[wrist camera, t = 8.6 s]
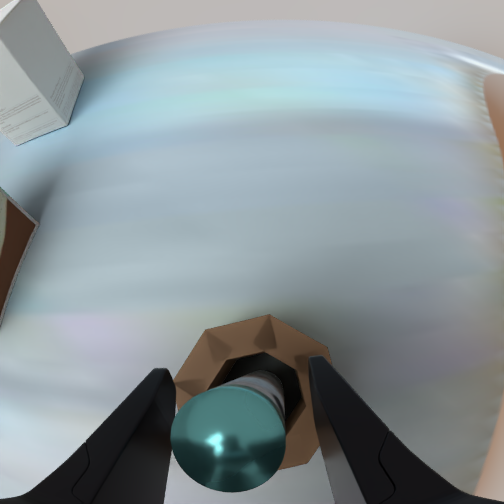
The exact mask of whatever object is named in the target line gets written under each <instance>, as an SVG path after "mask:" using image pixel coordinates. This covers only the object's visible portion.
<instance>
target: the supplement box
mask: <svg viewBox="0 0 504 504" xmlns="http://www.w3.org/2000/svg"><path fill="white" fill-rule="evenodd" d="M83 80H84V75H83V73H82V72H81V70H80V69H79V67H78V66H77V64H76V63H75V61H74V59H73V58H72V56H71V55H70V53H69V52H68V51H67V49H66V47H65V45H64V44H63V42H62V41H61V39H60V37H59V36H58V34H57V33H56V31H55V29H54V28H53V26H52V24H51V23H50V21H49V19H48V18H47V17H46V15H45V13H44V11H43V10H42V8H41V7H40V5H39V3H38V2H37V0H13V1H12V2H10V3H9V4H7V5H6V6H4V7H3V8H1V9H0V131H1V132H2V133H3V134H4V135H5V136H6V137H7V138H8V139H9V140H10V141H11V142H12V143H13V144H14V145H15V146H18V145H20V144H22V143H24V142H27V141H29V140H31V139H34V138H36V137H39V136H41V135H43V134H46V133H49V132H51V131H54V130H56V129H59V128H62V127H65V126H67V125H68V123H69V120H70V117H71V114H72V111H73V108H74V105H75V102H76V99H77V97H78V94H79V91H80V88H81V85H82V83H83Z"/></svg>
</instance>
